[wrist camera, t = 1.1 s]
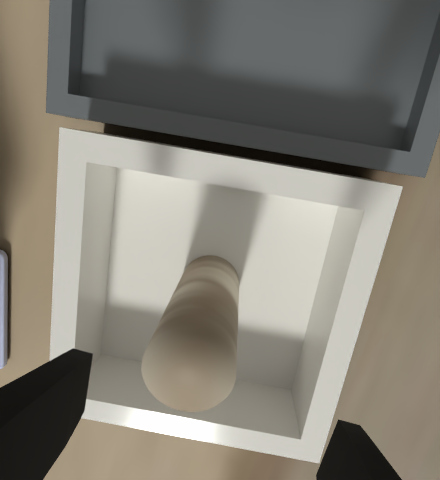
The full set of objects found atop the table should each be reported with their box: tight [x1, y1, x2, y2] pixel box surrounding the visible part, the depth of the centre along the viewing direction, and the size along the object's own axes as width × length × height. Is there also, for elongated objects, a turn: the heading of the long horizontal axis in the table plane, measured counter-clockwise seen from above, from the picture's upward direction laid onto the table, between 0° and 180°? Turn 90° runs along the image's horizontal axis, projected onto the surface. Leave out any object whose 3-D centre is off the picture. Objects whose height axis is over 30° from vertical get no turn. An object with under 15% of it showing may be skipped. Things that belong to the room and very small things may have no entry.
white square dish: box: [50, 127, 403, 463], centre depth 18 cm, size 14×14×4 cm
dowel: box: [141, 255, 239, 412], centre depth 15 cm, size 3×3×8 cm
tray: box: [46, 0, 440, 178], centre depth 16 cm, size 18×10×2 cm, turn 80°
